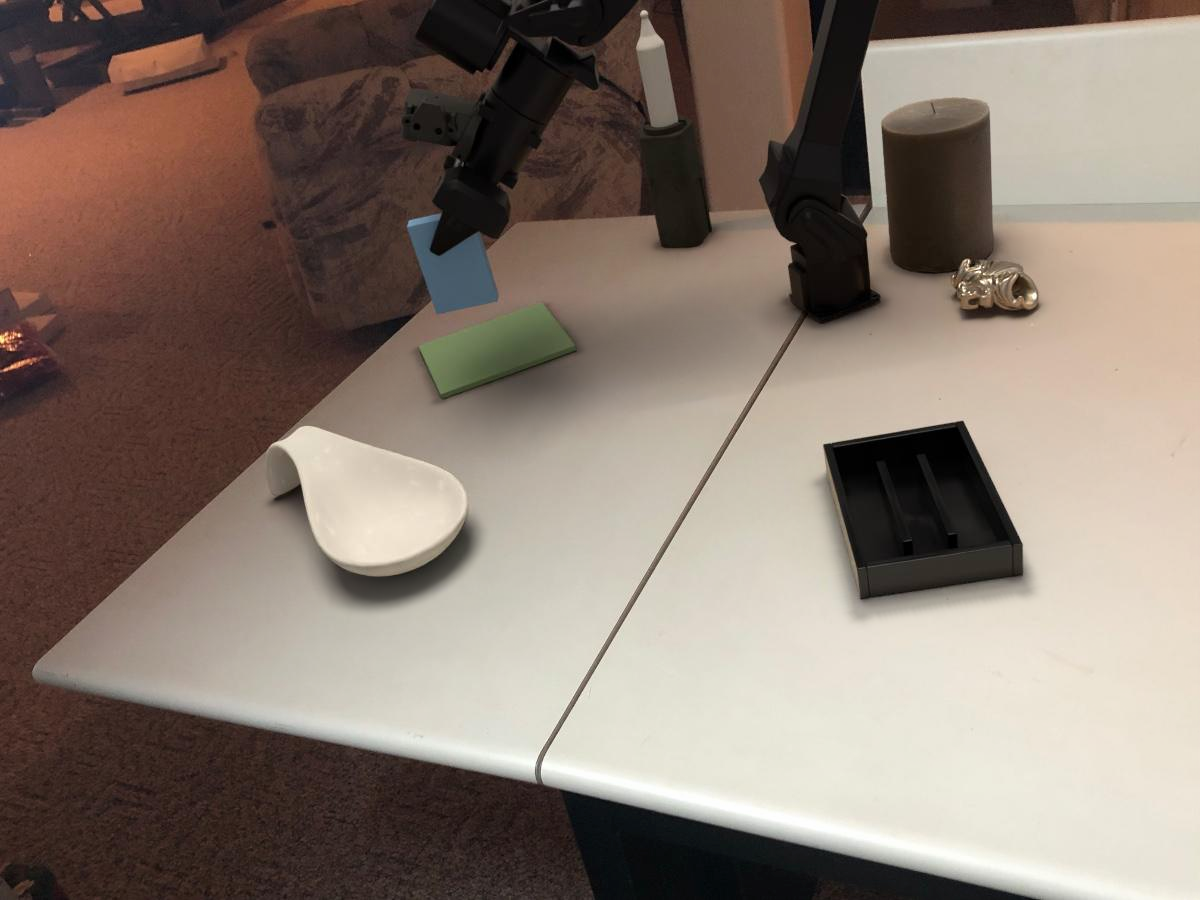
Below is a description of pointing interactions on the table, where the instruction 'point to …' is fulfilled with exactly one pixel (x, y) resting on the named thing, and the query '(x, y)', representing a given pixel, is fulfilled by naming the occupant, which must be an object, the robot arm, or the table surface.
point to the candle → (670, 151)
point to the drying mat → (495, 349)
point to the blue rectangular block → (453, 269)
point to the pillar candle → (938, 183)
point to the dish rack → (920, 511)
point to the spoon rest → (368, 501)
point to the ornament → (994, 285)
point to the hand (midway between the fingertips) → (435, 248)
